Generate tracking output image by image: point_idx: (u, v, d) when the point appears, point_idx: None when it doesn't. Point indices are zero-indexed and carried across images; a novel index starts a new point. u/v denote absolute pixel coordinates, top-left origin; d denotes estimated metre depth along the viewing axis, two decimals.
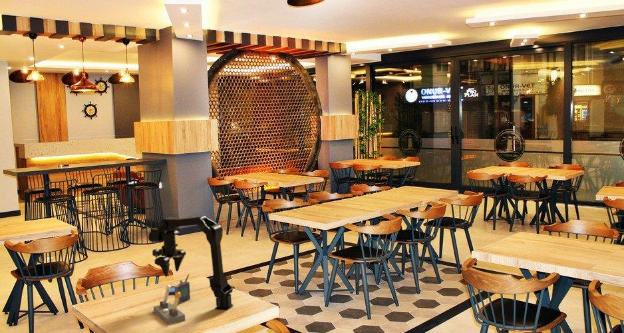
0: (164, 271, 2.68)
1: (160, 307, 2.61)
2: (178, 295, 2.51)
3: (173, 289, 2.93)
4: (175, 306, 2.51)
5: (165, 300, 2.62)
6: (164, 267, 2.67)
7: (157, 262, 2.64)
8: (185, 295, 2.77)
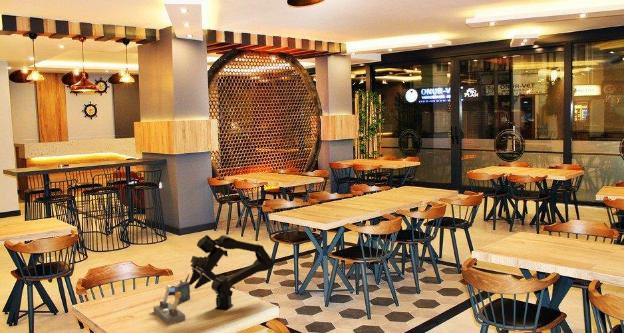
0: (199, 283, 2.53)
1: (160, 307, 2.61)
2: (178, 295, 2.51)
3: (173, 289, 2.93)
4: (175, 306, 2.51)
5: (165, 300, 2.62)
6: (202, 280, 2.53)
7: (209, 275, 2.50)
8: (185, 295, 2.77)
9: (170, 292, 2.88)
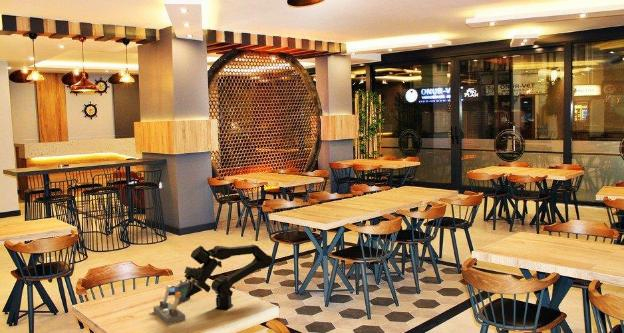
0: (190, 293, 2.54)
1: (160, 307, 2.61)
2: (178, 295, 2.51)
3: (174, 289, 2.93)
4: (175, 306, 2.51)
5: (165, 300, 2.62)
6: (193, 289, 2.54)
7: (203, 286, 2.48)
8: None
9: (170, 292, 2.88)
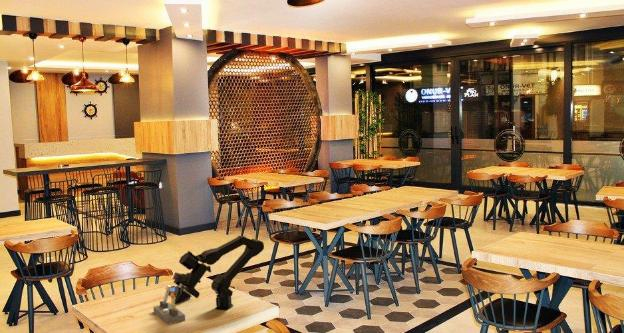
0: (179, 299, 2.51)
1: (160, 307, 2.61)
2: (173, 295, 2.49)
3: (174, 289, 2.92)
4: (173, 306, 2.50)
5: (165, 300, 2.62)
6: (183, 295, 2.52)
7: (192, 292, 2.46)
8: None
9: (171, 292, 2.88)
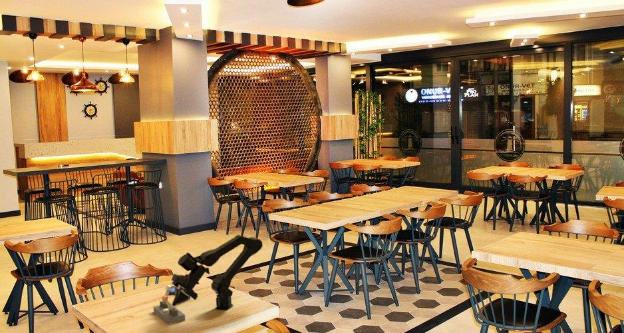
0: (177, 300, 2.51)
1: (160, 307, 2.61)
2: (165, 299, 2.47)
3: (174, 289, 2.92)
4: (170, 307, 2.50)
5: None
6: (181, 297, 2.51)
7: (190, 293, 2.45)
8: None
9: (171, 292, 2.88)
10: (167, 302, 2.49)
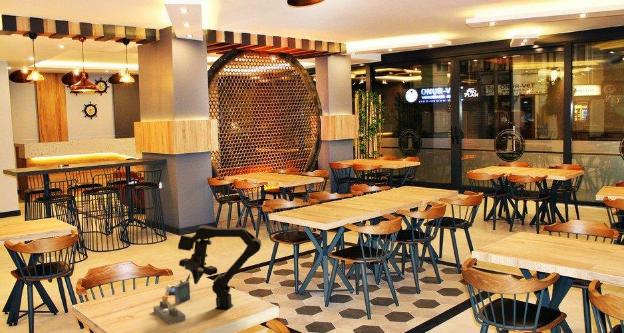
0: (198, 278, 2.63)
1: (160, 307, 2.61)
2: (165, 299, 2.47)
3: None
4: (170, 307, 2.50)
5: None
6: (199, 274, 2.63)
7: (212, 272, 2.58)
8: (185, 295, 2.77)
9: (172, 292, 2.88)
10: (167, 302, 2.49)
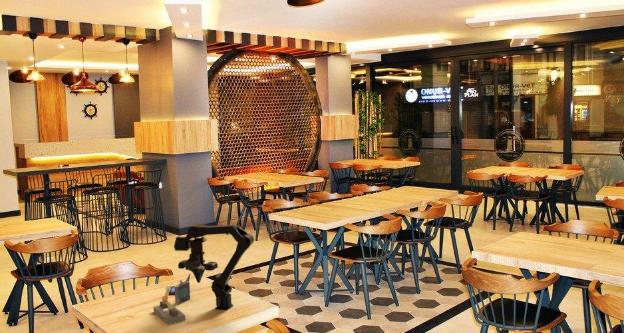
0: (200, 277, 2.65)
1: (160, 307, 2.61)
2: (165, 299, 2.47)
3: None
4: (170, 307, 2.50)
5: None
6: (200, 272, 2.65)
7: (213, 267, 2.61)
8: (186, 295, 2.77)
9: (172, 292, 2.88)
10: (167, 302, 2.49)
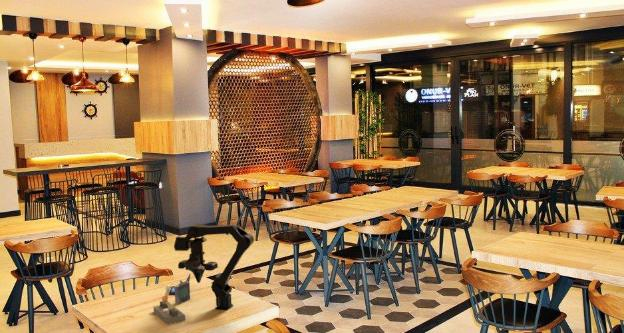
0: (200, 277, 2.65)
1: (160, 307, 2.61)
2: (165, 299, 2.47)
3: None
4: (170, 307, 2.50)
5: None
6: (200, 272, 2.65)
7: (213, 267, 2.61)
8: (185, 295, 2.77)
9: (172, 292, 2.88)
10: (167, 302, 2.49)
